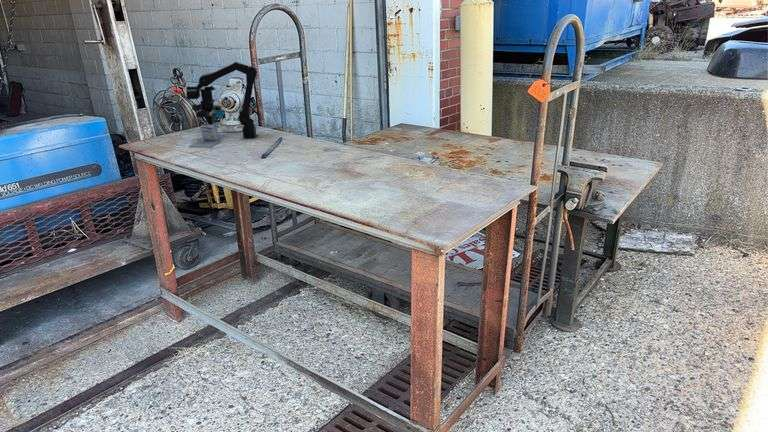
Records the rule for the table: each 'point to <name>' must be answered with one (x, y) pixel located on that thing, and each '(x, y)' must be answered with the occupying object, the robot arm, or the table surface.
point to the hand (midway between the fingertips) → (211, 126)
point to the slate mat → (205, 144)
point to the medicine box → (209, 132)
